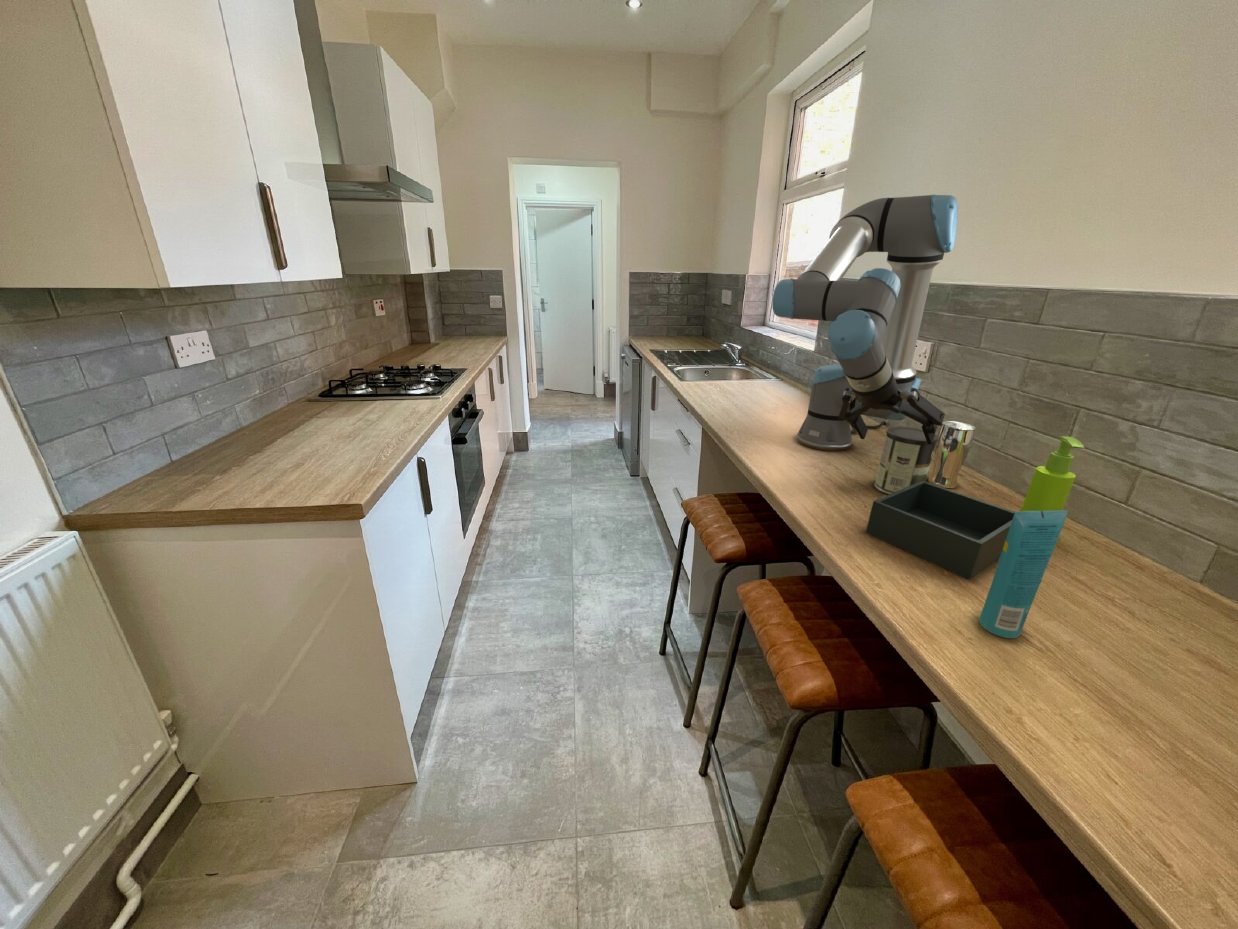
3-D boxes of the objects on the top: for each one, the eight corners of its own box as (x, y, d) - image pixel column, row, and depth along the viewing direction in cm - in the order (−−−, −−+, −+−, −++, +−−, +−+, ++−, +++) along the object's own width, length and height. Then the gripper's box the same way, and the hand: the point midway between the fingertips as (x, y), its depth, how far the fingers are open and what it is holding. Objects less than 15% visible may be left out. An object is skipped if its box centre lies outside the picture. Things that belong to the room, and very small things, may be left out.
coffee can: (913, 482, 120) (928, 428, 115) (929, 500, 111) (946, 442, 106) (868, 478, 122) (881, 424, 117) (880, 496, 113) (894, 438, 107)
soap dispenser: (1022, 537, 96) (1059, 442, 89) (1010, 522, 102) (1043, 431, 95) (1059, 543, 94) (1099, 446, 87) (1044, 527, 100) (1080, 435, 93)
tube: (1004, 614, 74) (1048, 501, 67) (1035, 636, 70) (1085, 518, 63) (962, 619, 73) (1002, 504, 66) (990, 642, 69) (1036, 522, 61)
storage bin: (913, 509, 107) (921, 480, 104) (1013, 548, 92) (1026, 515, 90) (865, 532, 97) (873, 501, 94) (969, 579, 83) (981, 544, 80)
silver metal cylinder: (953, 491, 116) (971, 431, 110) (921, 482, 120) (937, 424, 115) (962, 484, 120) (980, 425, 114) (931, 475, 125) (947, 419, 119)
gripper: (803, 393, 103) (834, 445, 116) (939, 395, 84) (958, 456, 98) (814, 364, 105) (844, 419, 118) (950, 360, 86) (967, 425, 100)
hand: (896, 436), depth 108 cm, fingers open, 13 cm apart
